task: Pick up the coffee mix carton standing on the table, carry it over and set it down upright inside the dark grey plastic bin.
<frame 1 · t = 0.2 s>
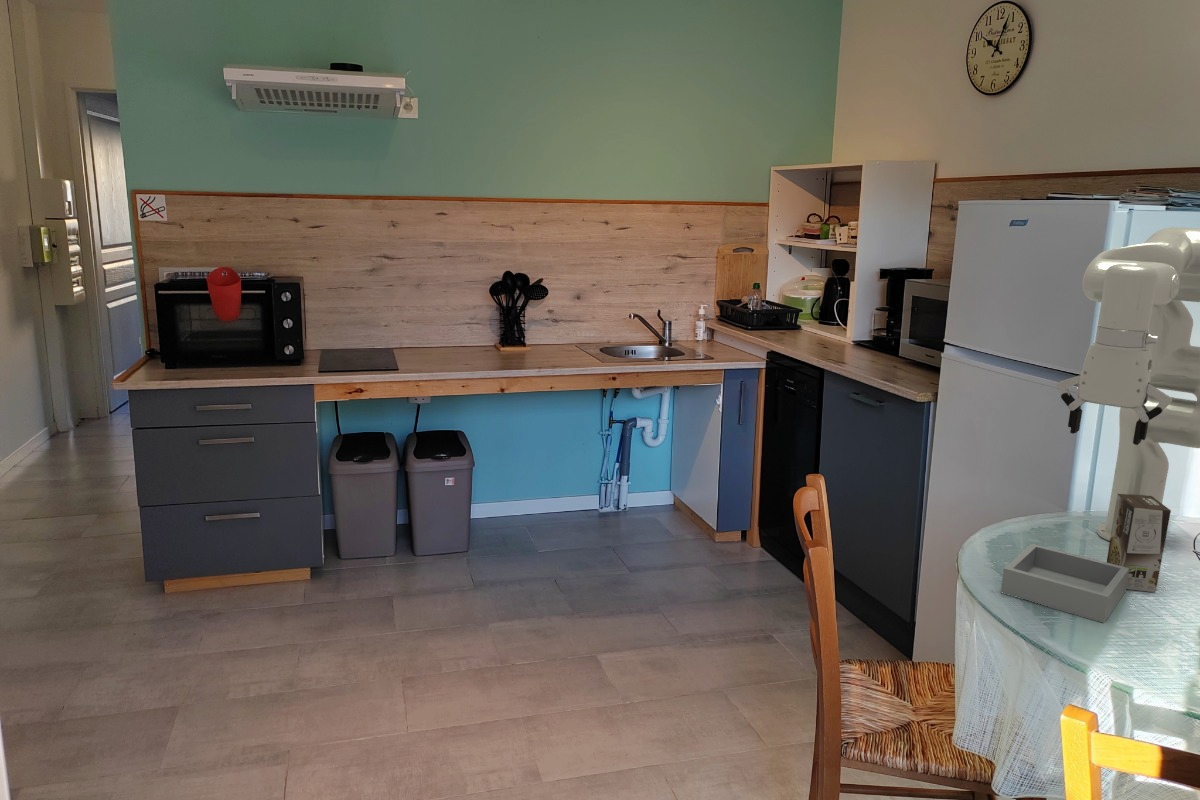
hand: (1105, 437, 155), 31 cm above the table, tool pointing down, fingers open, 9 cm apart
coffee box: (1129, 582, 173), on the table
grey bin: (1063, 592, 167), on the table
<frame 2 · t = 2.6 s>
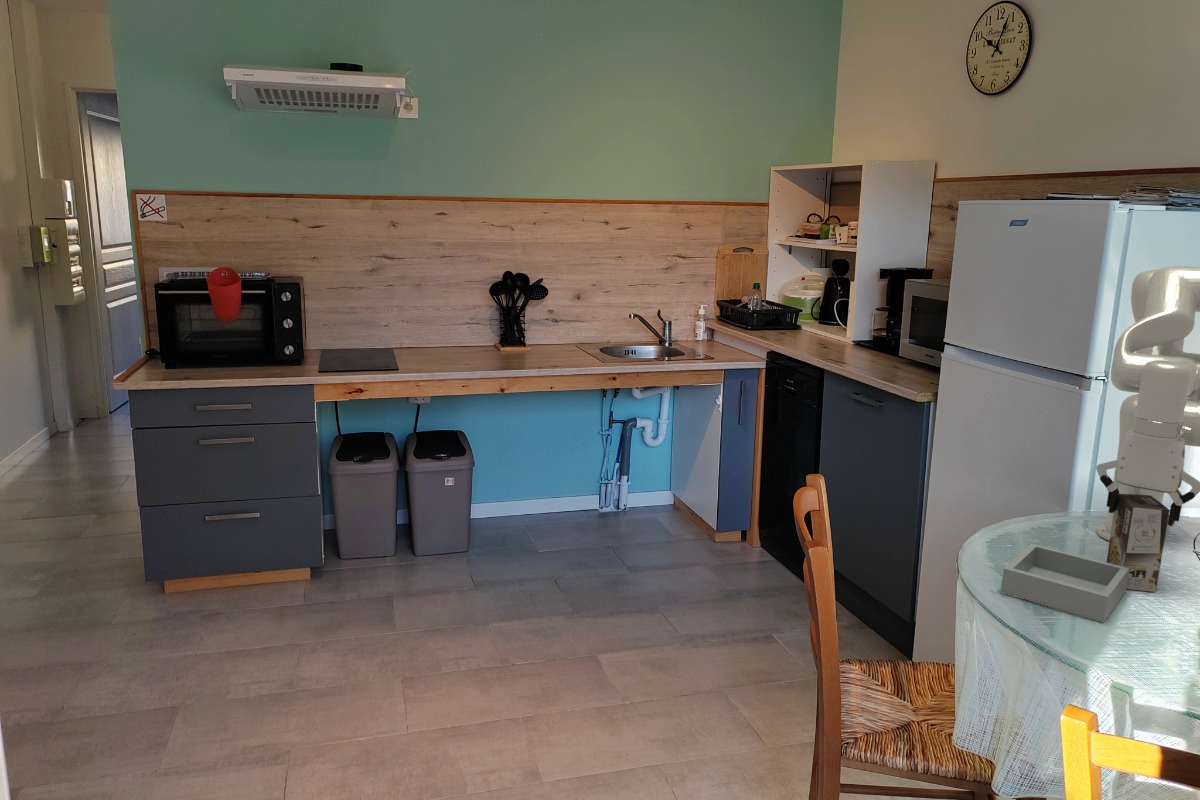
hand: (1141, 517, 169), 13 cm above the table, tool pointing down, fingers open, 9 cm apart
nothing on the table moved.
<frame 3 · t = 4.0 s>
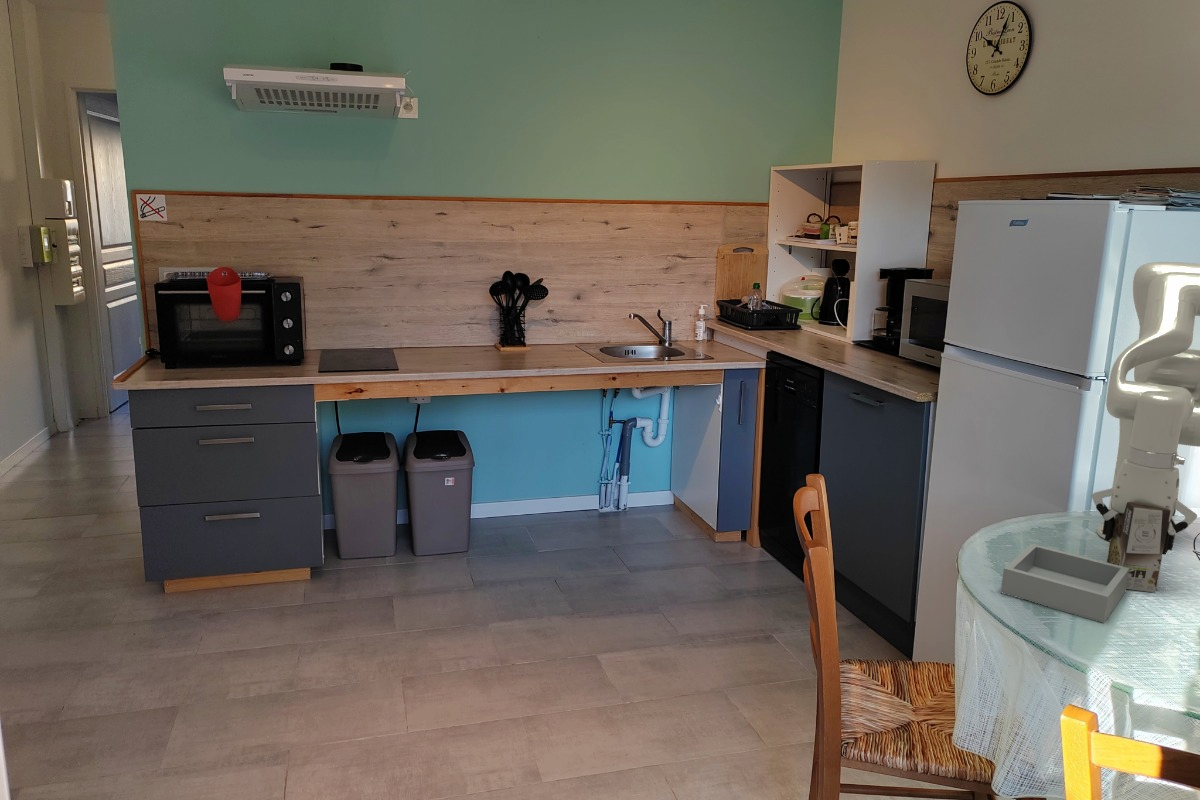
hand: (1135, 545, 171), 7 cm above the table, tool pointing down, fingers closed on coffee box, 9 cm apart
coffee box: (1129, 582, 173), on the table, touching gripper
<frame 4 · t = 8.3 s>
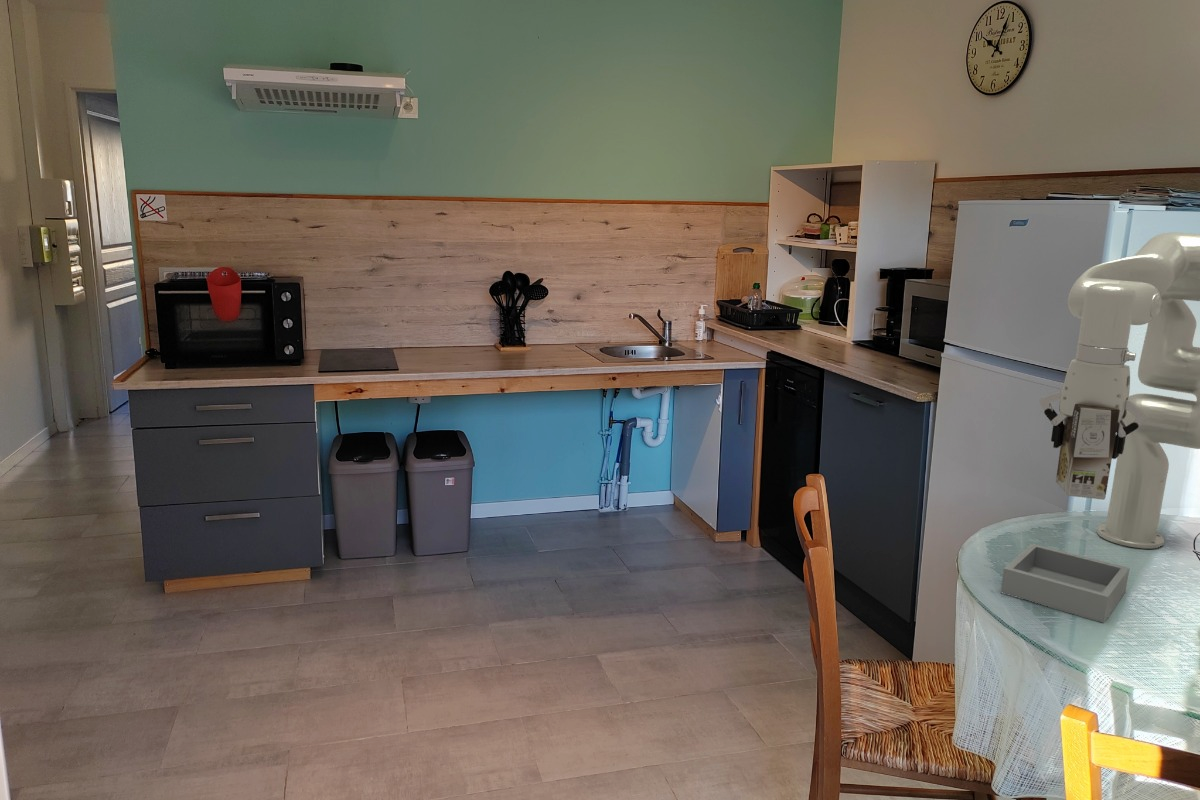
hand: (1085, 451, 161), 27 cm above the table, tool pointing down, fingers closed on coffee box, 8 cm apart
coffee box: (1079, 491, 162), point 20 cm above the table, touching gripper
when the fingers open (9 cm above the table, at t = 12.5 s): coffee box drops 1 cm, resting on grey bin.
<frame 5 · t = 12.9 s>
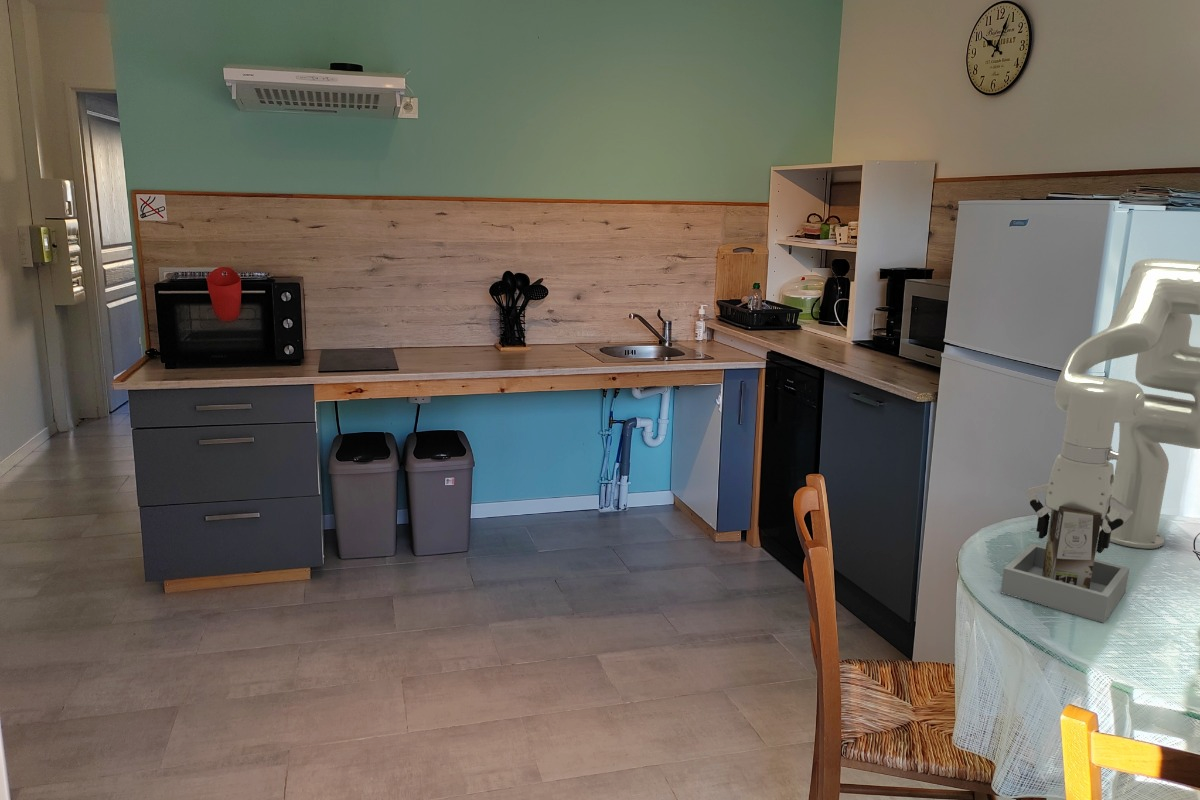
hand: (1071, 543, 164), 10 cm above the table, tool pointing down, fingers open, 9 cm apart
coffee box: (1064, 589, 167), point 1 cm above the table, touching grey bin
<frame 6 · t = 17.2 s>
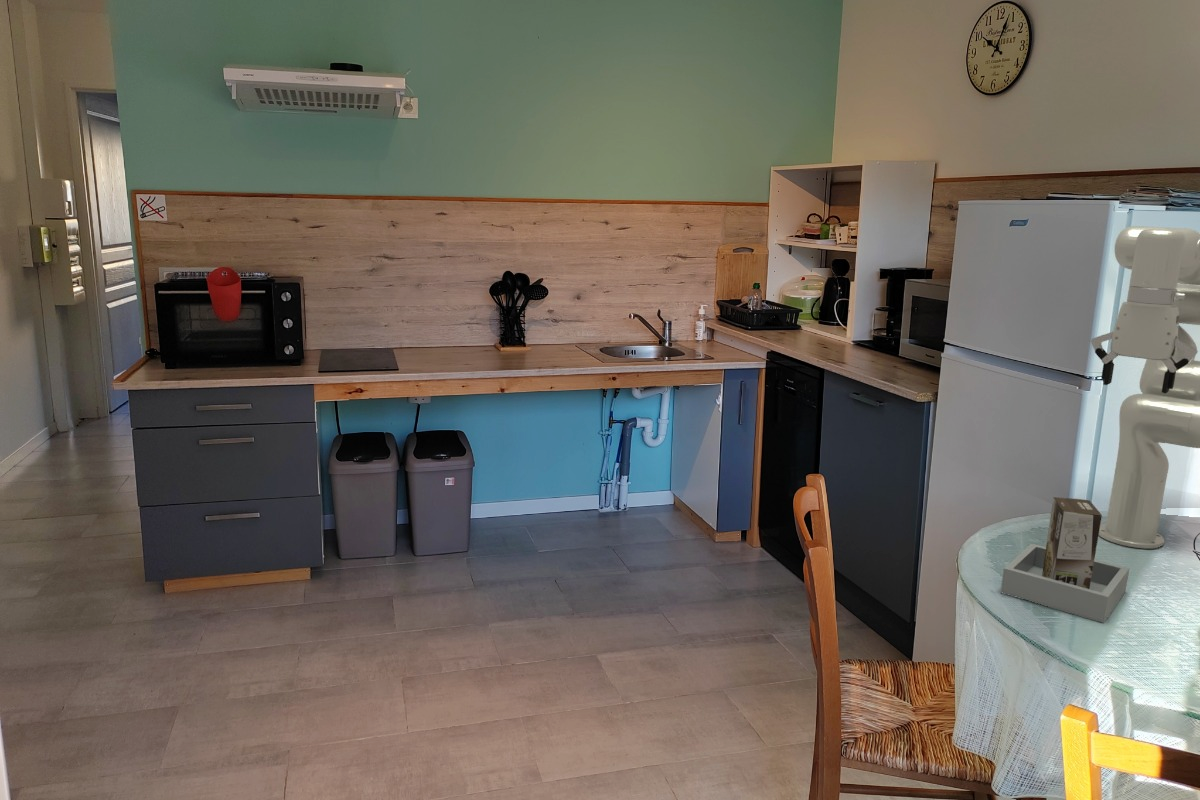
hand: (1135, 387, 171), 36 cm above the table, tool pointing down, fingers open, 9 cm apart
nothing on the table moved.
at the end: coffee box inside the target area on the grey bin (0.2 cm from its centre), point 0.6 cm above the grey bin's base; coffee box tilted 0°; the gripper is holding nothing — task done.
